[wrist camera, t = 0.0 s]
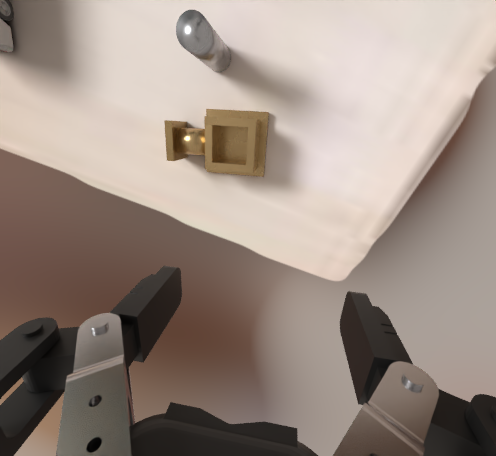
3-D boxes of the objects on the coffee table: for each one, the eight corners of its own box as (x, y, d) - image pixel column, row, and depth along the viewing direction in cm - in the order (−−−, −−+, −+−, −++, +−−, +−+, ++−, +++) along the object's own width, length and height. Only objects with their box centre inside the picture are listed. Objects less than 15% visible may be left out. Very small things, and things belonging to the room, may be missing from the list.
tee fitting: (179, 107, 37) (163, 104, 32) (268, 112, 36) (265, 110, 31) (182, 168, 41) (167, 173, 36) (263, 175, 39) (260, 182, 34)
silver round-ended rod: (206, 42, 34) (175, 9, 24) (231, 42, 33) (208, 9, 24) (206, 71, 35) (177, 50, 26) (230, 72, 35) (208, 51, 25)
